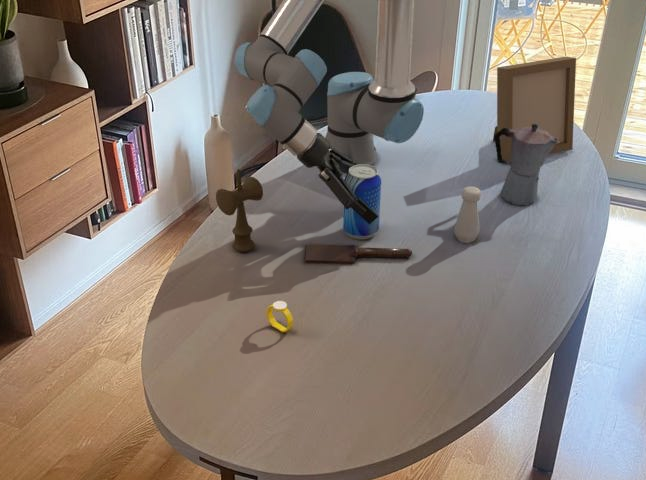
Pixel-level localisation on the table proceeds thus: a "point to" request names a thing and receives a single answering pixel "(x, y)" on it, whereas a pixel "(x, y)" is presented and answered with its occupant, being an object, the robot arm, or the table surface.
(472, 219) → the salt shaker
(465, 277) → the table surface
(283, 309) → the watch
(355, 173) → the beer can
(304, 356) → the table surface
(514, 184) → the moka pot
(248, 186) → the kendama
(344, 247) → the spatula
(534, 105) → the photo frame
